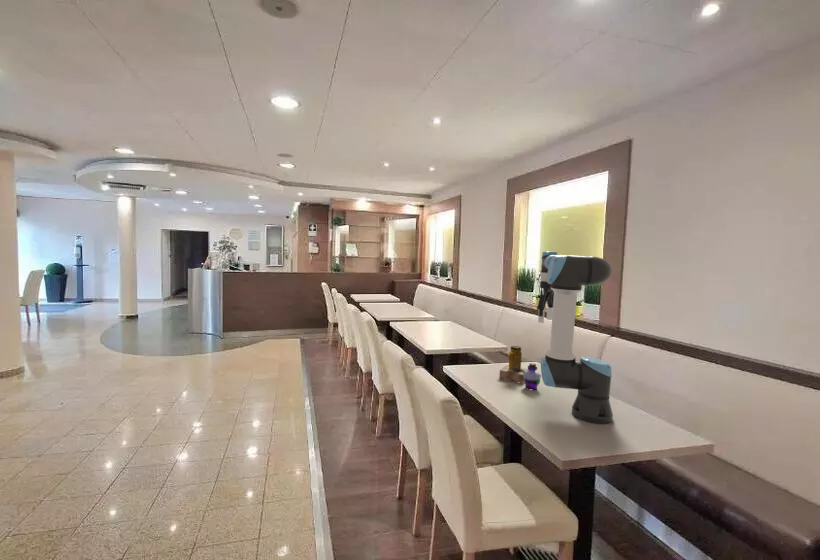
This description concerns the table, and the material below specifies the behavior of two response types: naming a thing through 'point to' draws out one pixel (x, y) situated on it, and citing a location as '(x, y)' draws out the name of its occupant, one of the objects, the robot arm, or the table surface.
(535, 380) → the potion bottle
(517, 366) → the condiment
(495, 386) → the table surface
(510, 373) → the walnut block
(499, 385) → the table surface
